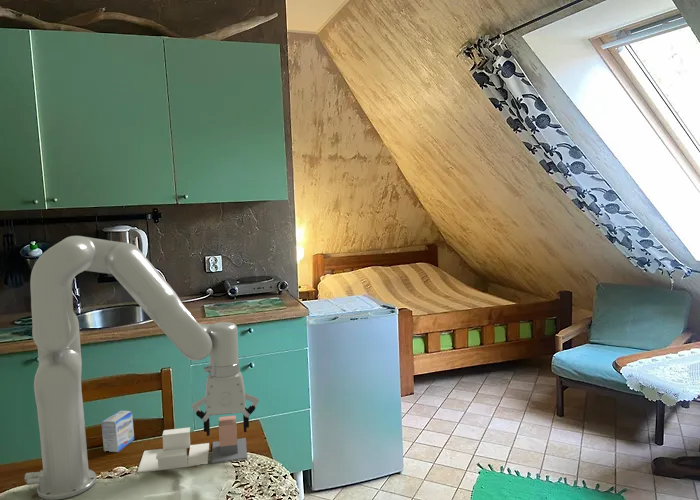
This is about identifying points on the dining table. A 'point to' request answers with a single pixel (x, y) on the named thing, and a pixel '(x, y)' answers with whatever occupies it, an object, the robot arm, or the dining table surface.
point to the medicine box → (117, 431)
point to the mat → (240, 455)
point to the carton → (174, 452)
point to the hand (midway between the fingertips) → (226, 432)
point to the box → (228, 435)
